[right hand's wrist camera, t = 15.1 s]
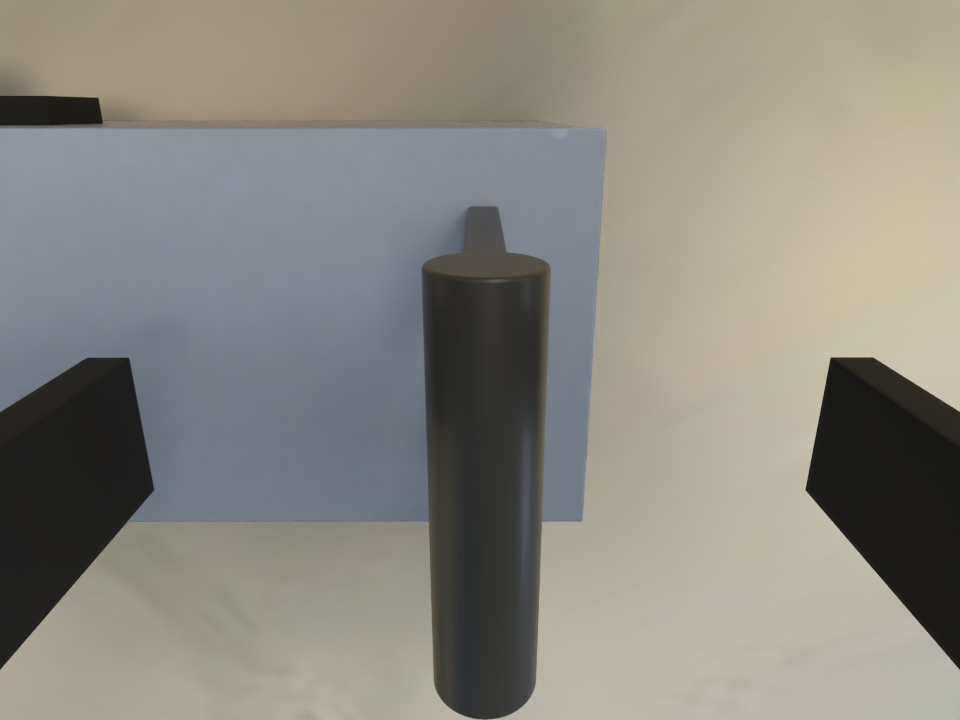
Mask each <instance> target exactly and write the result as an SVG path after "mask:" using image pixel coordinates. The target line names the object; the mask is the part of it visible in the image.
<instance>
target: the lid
mask: <svg viewBox="0 0 960 720" xmlns="http://www.w3.org/2000/svg"><path fill="white" fill-rule="evenodd" d="M605 145H606V129H605V128H600V127H0V412H1V411H3V410H4V409H6V408H7V407H9V406H11V405H12V404H14V403H15V402H17V401H19V400H20V399H22V398H23V397H25V396H27V395H28V394H30V393H31V392H33V391H35V390H36V389H38V388H39V387H41V386H43V385H44V384H46V383H47V382H49V381H50V380H52V379H54V378H55V377H57V376H58V375H60V374H62V373H63V372H65V371H66V370H68V369H70V368H71V367H73V366H74V365H76V364H78V363H79V362H81V361H82V360H84V359H86V358H129V359H130V364H131V370H132V375H133V380H134V385H135V390H136V396H137V401H138V406H139V411H140V417H141V422H142V427H143V432H144V438H145V443H146V448H147V453H148V459H149V464H150V469H151V474H152V480H153V485H154V491H153V492H152V494H151V495H150V496H149V497H148V498H147V499H146V501H145V502H144V503H143V504H142V505H141V506H140V508H139V509H138V510H137V511H136V512H135V513H134V514H133V516H132V517H131V518H130V519H129V520H128V521H429V537H430V570H431V603H432V636H433V669H434V684H435V688H436V691H437V693H438V695H439V696H440V698H441V699H442V701H443V702H444V703H445V704H446V705H447V706H448V707H449V708H451V709H452V710H453V711H455V712H457V713H459V714H461V715H463V716H466V717H470V718H475V719H496V718H501V717H504V716H507V715H509V714H512V713H513V712H515V711H517V710H518V709H520V708H521V707H522V706H523V705H524V704H525V703H526V702H527V701H528V699H529V698H530V696H531V695H532V693H533V691H534V688H535V683H536V665H537V638H538V611H539V584H540V557H541V530H542V521H582V520H583V504H584V488H585V472H586V455H587V439H588V423H589V406H590V390H591V374H592V357H593V341H594V325H595V308H596V292H597V276H598V259H599V243H600V227H601V210H602V194H603V178H604V161H605Z"/></svg>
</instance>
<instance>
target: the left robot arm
mask: <svg viewBox="0 0 960 720" xmlns="http://www.w3.org/2000/svg"><path fill="white" fill-rule="evenodd" d="M100 123H103V121H102V116H101V110H100V105H99V99H98V98H85V97H56V96H0V125H69V124H100Z"/></svg>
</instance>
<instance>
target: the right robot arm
mask: <svg viewBox="0 0 960 720" xmlns="http://www.w3.org/2000/svg"><path fill="white" fill-rule="evenodd" d="M153 491H154V485H153V480H152V474H151V469H150V464H149V459H148V453H147V448H146V443H145V438H144V432H143V427H142V422H141V417H140V411H139V406H138V401H137V396H136V390H135V385H134V380H133V375H132V370H131V364H130V359H129V358H86V359H84V360H82V361H81V362H79V363H78V364H76V365H74V366H73V367H71V368H70V369H68V370H66V371H65V372H63V373H62V374H60V375H58V376H57V377H55V378H54V379H52V380H50V381H49V382H47V383H46V384H44V385H43V386H41V387H39V388H38V389H36V390H35V391H33V392H31V393H30V394H28V395H27V396H25V397H23V398H22V399H20V400H19V401H17V402H15V403H14V404H12V405H11V406H9V407H7V408H6V409H4V410H3V411H1V412H0V669H1V668H2V667H3V666H4V665H5V663H6V662H7V661H8V660H9V659H10V658H11V656H12V655H13V654H14V653H15V652H16V651H17V649H18V648H19V647H20V646H21V645H22V644H23V643H24V641H25V640H26V639H27V638H28V637H29V636H30V634H31V633H32V632H33V631H34V630H35V629H36V627H37V626H38V625H39V624H40V623H41V622H42V620H43V619H44V618H45V617H46V616H47V615H48V613H49V612H50V611H51V610H52V609H53V608H54V606H55V605H56V604H57V603H58V602H59V601H60V599H61V598H62V597H63V596H64V595H65V594H66V592H67V591H68V590H69V589H70V588H71V587H72V585H73V584H74V583H75V582H76V581H77V580H78V579H79V577H80V576H81V575H82V574H83V573H84V572H85V570H86V569H87V568H88V567H89V566H90V565H91V563H92V562H93V561H94V560H95V559H96V558H97V556H98V555H99V554H100V553H101V552H102V551H103V549H104V548H105V547H106V546H107V545H108V544H109V542H110V541H111V540H112V539H113V538H114V537H115V535H116V534H117V533H118V532H119V531H120V530H121V528H122V527H123V526H124V525H125V524H126V523H127V521H128V520H129V519H130V518H131V517H132V516H133V514H134V513H135V512H136V511H137V510H138V509H139V508H140V506H141V505H142V504H143V503H144V502H145V501H146V499H147V498H148V497H149V496H150V495H151V494H152V492H153ZM806 491H807V492H808V494H809V495H810V496H811V497H812V498H813V499H814V500H815V502H816V503H817V504H818V505H819V506H820V507H821V509H822V510H823V511H824V512H825V513H826V514H827V516H828V517H829V518H830V519H831V520H832V521H833V523H834V524H835V525H836V526H837V527H838V528H839V530H840V531H841V532H842V533H843V534H844V535H845V537H846V538H847V539H848V540H849V541H850V542H851V544H852V545H853V546H854V547H855V548H856V549H857V551H858V552H859V553H860V554H861V555H862V556H863V558H864V559H865V560H866V561H867V562H868V563H869V565H870V566H871V567H872V568H873V569H874V570H875V571H876V573H877V574H878V575H879V576H880V577H881V578H882V580H883V581H884V582H885V583H886V584H887V585H888V587H889V588H890V589H891V590H892V591H893V592H894V594H895V595H896V596H897V597H898V598H899V599H900V601H901V602H902V603H903V604H904V605H905V606H906V608H907V609H908V610H909V611H910V612H911V613H912V615H913V616H914V617H915V618H916V619H917V620H918V622H919V623H920V624H921V625H922V626H923V627H924V629H925V630H926V631H927V632H928V633H929V634H930V636H931V637H932V638H933V639H934V640H935V641H936V642H937V644H938V645H939V646H940V647H941V648H942V649H943V651H944V652H945V653H946V654H947V655H948V656H949V658H950V659H951V660H952V661H953V662H954V663H955V665H956V666H957V667H958V668H959V669H960V412H959V411H957V410H956V409H954V408H953V407H951V406H949V405H948V404H946V403H945V402H943V401H941V400H940V399H938V398H937V397H935V396H933V395H932V394H930V393H929V392H927V391H925V390H924V389H922V388H921V387H919V386H918V385H916V384H914V383H913V382H911V381H910V380H908V379H906V378H905V377H903V376H902V375H900V374H898V373H897V372H895V371H894V370H892V369H890V368H889V367H887V366H886V365H884V364H882V363H881V362H879V361H878V360H876V359H874V358H831V359H830V364H829V370H828V375H827V380H826V385H825V391H824V396H823V401H822V406H821V412H820V417H819V422H818V427H817V433H816V438H815V443H814V448H813V454H812V459H811V464H810V469H809V475H808V480H807V485H806Z"/></svg>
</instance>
